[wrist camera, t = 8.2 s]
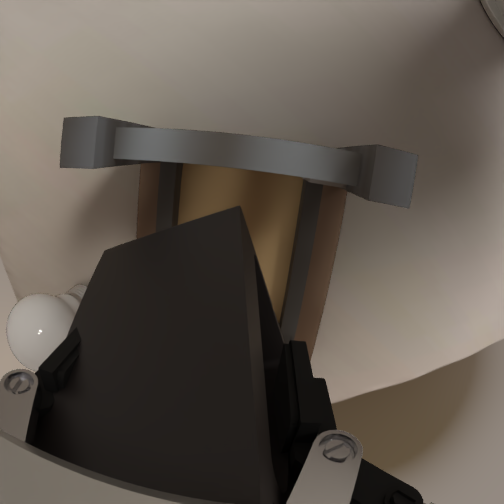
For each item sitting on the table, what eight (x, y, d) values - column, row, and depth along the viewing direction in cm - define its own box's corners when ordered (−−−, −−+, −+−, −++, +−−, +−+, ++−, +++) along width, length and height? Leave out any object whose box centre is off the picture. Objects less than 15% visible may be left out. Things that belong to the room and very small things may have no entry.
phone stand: (298, 385, 14) (320, 632, 3) (185, 406, 15) (126, 616, 4) (241, 203, 12) (75, 591, 1) (108, 246, 13) (-122, 435, 1)
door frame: (349, 154, 23) (418, 154, 12) (308, 356, 29) (326, 456, 17) (148, 130, 23) (64, 117, 12) (141, 332, 29) (88, 417, 17)
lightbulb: (54, 299, 28) (-11, 353, 18) (71, 250, 27) (-5, 297, 16) (101, 334, 29) (47, 401, 19) (123, 288, 28) (61, 354, 17)
